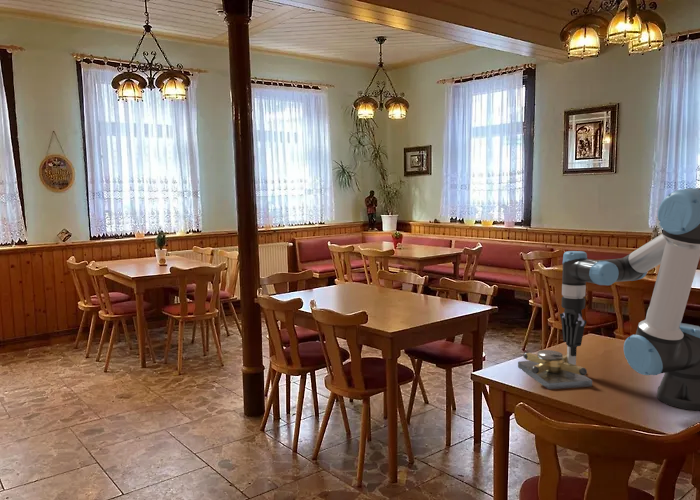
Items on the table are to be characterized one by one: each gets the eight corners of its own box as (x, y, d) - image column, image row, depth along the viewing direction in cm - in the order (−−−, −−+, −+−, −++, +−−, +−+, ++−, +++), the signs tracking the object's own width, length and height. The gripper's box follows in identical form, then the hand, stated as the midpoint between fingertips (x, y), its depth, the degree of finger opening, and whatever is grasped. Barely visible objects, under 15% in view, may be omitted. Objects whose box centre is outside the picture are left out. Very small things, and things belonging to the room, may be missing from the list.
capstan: (605, 371, 192) (605, 356, 191) (565, 387, 178) (566, 371, 177) (543, 354, 210) (543, 340, 210) (502, 368, 196) (503, 353, 195)
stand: (592, 386, 185) (592, 377, 184) (548, 389, 182) (548, 380, 182) (557, 364, 206) (557, 356, 206) (518, 367, 204) (518, 358, 204)
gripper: (594, 299, 189) (591, 369, 191) (573, 293, 201) (571, 358, 204) (573, 300, 188) (571, 370, 190) (553, 293, 200) (551, 359, 203)
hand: (571, 364), depth 197 cm, fingers closed
